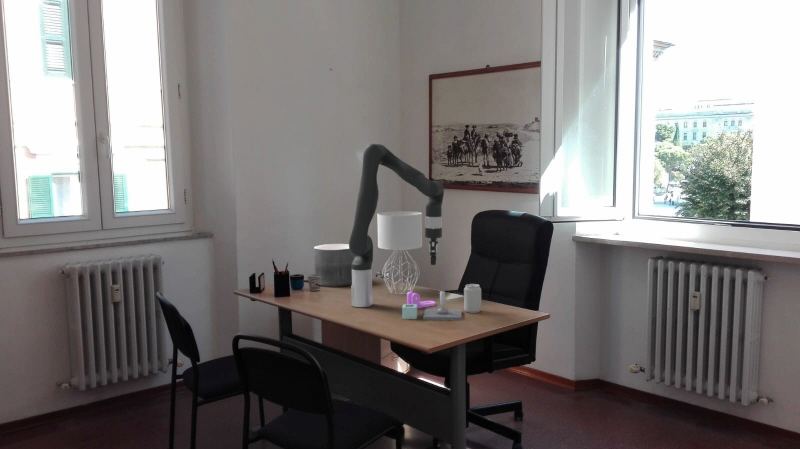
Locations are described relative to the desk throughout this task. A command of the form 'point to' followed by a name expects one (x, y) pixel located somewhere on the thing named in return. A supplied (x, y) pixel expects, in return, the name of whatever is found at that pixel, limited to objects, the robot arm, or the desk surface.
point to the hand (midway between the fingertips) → (433, 263)
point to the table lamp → (399, 238)
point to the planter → (334, 264)
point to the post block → (442, 311)
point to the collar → (409, 311)
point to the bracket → (418, 300)
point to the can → (472, 298)
